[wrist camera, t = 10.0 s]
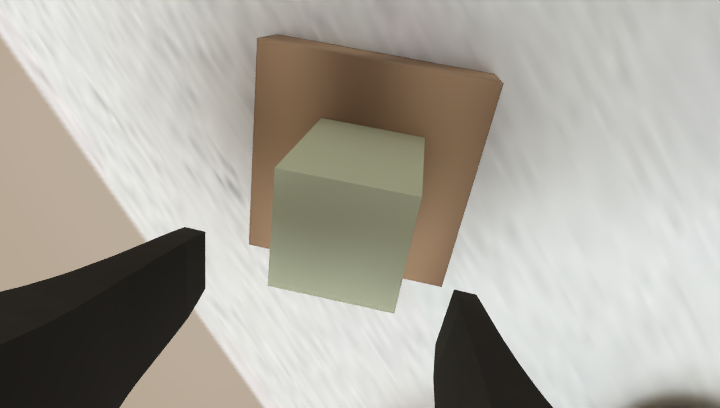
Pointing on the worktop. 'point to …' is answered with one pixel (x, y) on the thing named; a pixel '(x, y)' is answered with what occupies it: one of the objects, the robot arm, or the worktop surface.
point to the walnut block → (377, 110)
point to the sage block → (346, 213)
